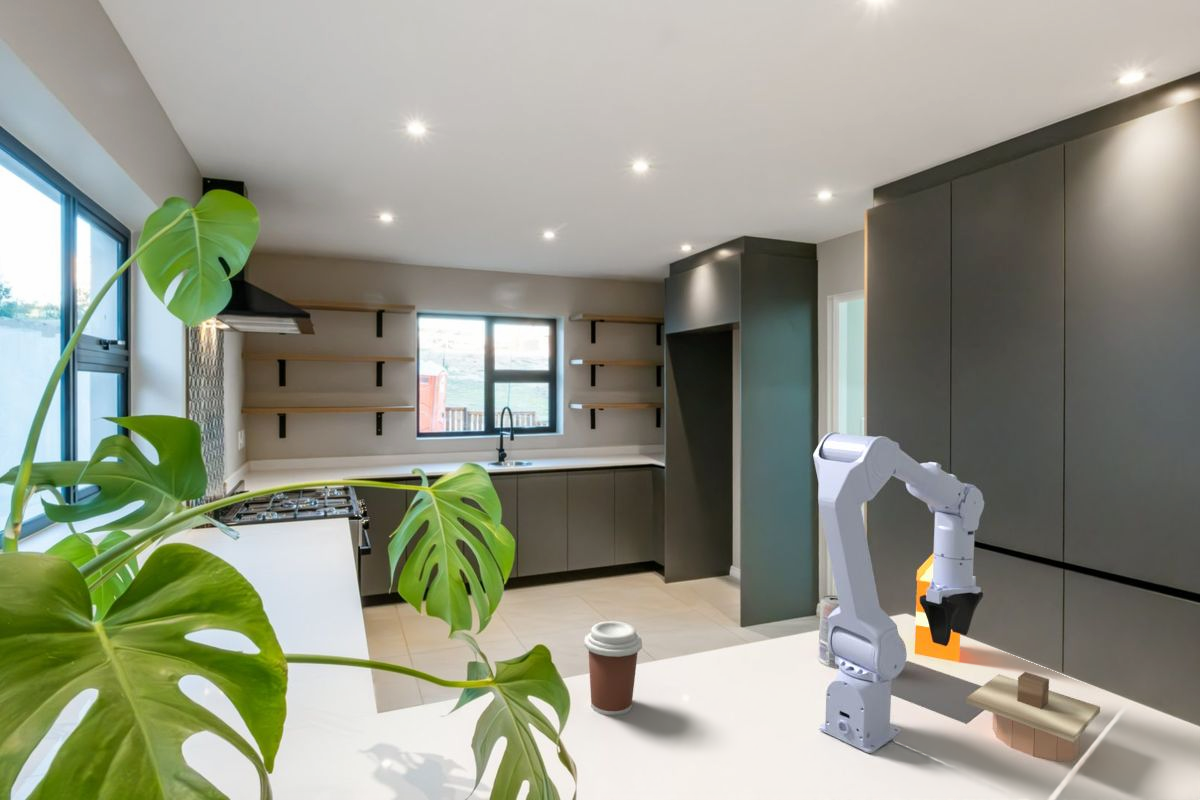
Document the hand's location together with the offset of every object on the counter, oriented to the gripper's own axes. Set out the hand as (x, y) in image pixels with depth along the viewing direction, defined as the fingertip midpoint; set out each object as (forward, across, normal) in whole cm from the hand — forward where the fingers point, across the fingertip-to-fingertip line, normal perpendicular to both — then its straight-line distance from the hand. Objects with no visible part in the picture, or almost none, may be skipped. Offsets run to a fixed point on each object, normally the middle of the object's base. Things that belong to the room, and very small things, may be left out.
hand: (950, 638), depth 104 cm
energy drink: (+11, -2, +19) cm, 22 cm away
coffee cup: (+11, -45, +32) cm, 56 cm away
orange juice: (+11, +20, +10) cm, 25 cm away
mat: (+10, +2, +3) cm, 11 cm away
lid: (+5, -3, -13) cm, 14 cm away
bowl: (+10, -3, -13) cm, 17 cm away
